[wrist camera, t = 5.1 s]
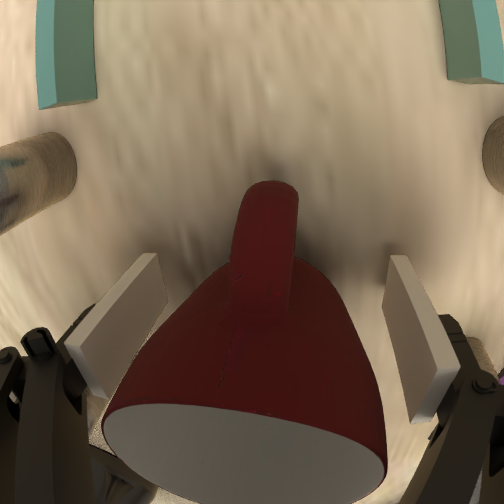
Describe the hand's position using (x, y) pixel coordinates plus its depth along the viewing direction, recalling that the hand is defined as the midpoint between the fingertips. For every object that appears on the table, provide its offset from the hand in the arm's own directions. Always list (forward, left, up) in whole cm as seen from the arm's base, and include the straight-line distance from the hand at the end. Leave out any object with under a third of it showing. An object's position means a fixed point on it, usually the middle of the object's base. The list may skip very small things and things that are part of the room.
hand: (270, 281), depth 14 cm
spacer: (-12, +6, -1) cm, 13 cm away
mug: (0, 0, -2) cm, 2 cm away
